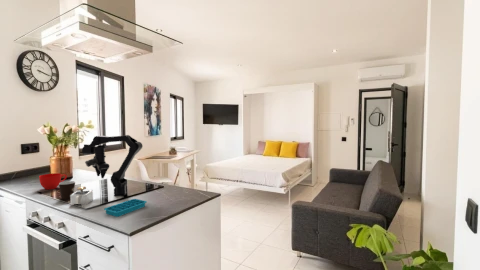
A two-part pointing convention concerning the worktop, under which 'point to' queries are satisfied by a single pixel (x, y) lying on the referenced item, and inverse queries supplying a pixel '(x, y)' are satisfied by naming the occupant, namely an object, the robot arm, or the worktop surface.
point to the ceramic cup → (51, 180)
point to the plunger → (81, 189)
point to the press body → (81, 197)
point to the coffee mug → (66, 189)
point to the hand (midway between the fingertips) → (100, 177)
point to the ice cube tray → (125, 207)
